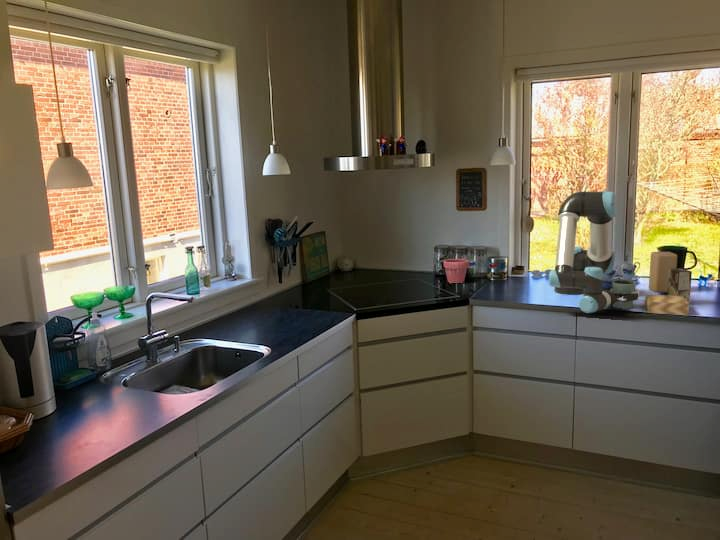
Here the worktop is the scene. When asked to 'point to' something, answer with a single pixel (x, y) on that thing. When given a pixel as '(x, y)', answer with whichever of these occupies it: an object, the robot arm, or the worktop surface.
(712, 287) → the worktop surface
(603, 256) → the robot arm
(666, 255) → the wooden block
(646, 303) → the wooden box
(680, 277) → the coffee box
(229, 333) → the worktop surface
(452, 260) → the plant pot
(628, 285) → the green ceramic cup
